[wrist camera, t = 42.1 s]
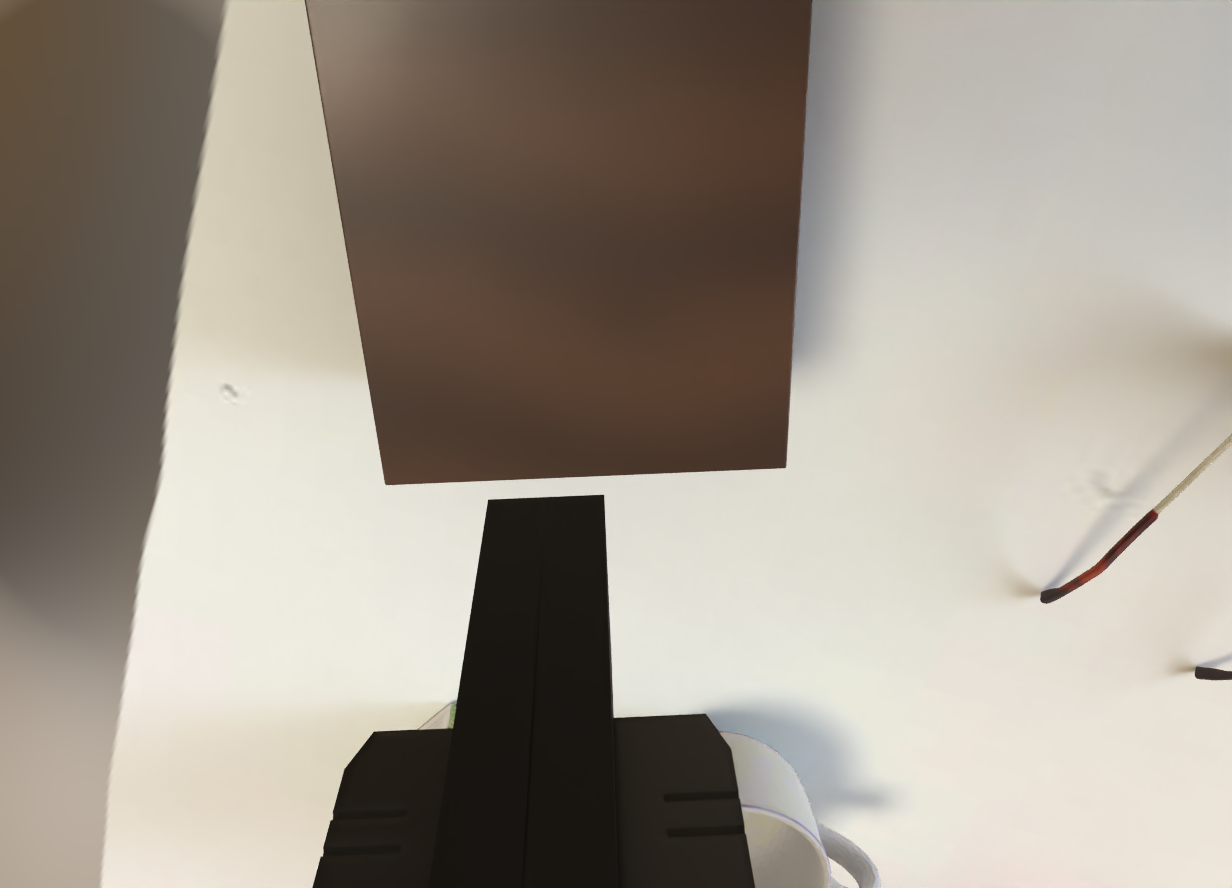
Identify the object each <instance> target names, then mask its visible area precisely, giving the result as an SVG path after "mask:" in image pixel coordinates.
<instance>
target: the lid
mask: <svg viewBox="0 0 1232 888" xmlns="http://www.w3.org/2000/svg"><path fill="white" fill-rule="evenodd" d="M305 5H306V11H307V17H308V23H309V29H310V35H311V41H312V47H313V53H314V59H315V65H316V71H317V77H318V83H319V89H320V95H321V101H322V107H323V113H324V119H325V125H326V131H327V137H328V143H329V149H330V155H331V161H332V167H333V173H334V179H335V185H336V191H337V197H338V203H339V209H340V215H341V221H342V227H343V233H344V239H345V245H346V251H347V257H348V263H349V269H350V275H351V282H352V288H353V294H354V300H355V306H356V312H357V318H358V324H359V330H360V336H361V342H362V348H363V354H364V360H365V366H366V372H367V378H368V384H369V390H370V396H371V402H372V408H373V414H374V420H375V426H376V432H377V438H378V444H379V450H380V456H381V462H382V468H383V474H384V480H385V484H386V485H400V484H423V483H447V482H470V481H494V480H517V479H541V478H564V477H588V476H611V475H634V474H658V473H681V472H705V471H728V470H752V469H775V468H786V462H787V444H788V426H789V408H790V390H791V372H792V355H793V337H794V319H795V301H796V283H797V265H798V248H799V230H800V212H801V194H802V176H803V158H804V141H805V123H806V105H807V87H808V69H809V52H810V34H811V16H812V0H305Z"/></svg>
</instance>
